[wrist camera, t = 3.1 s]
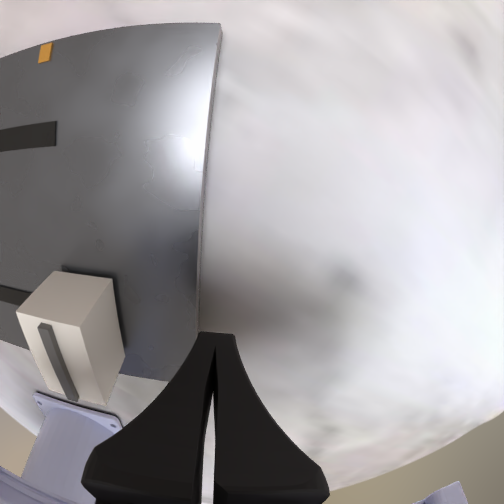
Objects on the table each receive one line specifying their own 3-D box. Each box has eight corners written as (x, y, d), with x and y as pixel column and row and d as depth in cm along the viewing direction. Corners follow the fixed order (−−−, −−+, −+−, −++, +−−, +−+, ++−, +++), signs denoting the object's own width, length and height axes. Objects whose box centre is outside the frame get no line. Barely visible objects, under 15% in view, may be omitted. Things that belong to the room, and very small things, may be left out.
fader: (125, 356, 13) (104, 411, 10) (73, 345, 13) (46, 394, 9) (112, 278, 11) (76, 332, 8) (54, 270, 11) (11, 315, 8)
